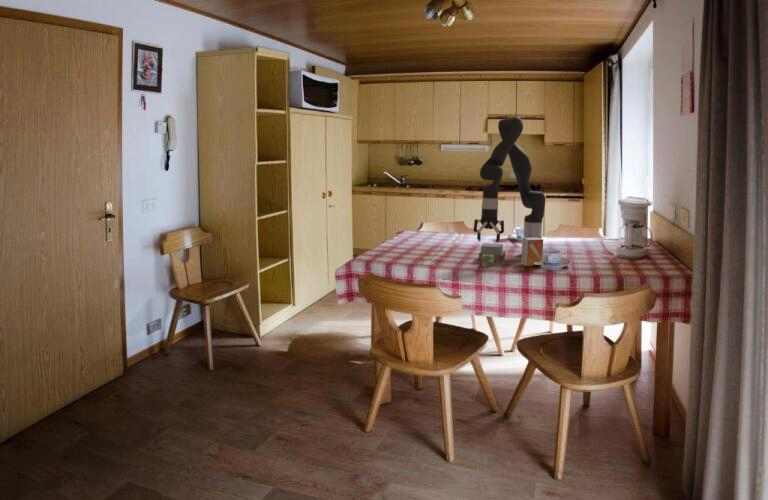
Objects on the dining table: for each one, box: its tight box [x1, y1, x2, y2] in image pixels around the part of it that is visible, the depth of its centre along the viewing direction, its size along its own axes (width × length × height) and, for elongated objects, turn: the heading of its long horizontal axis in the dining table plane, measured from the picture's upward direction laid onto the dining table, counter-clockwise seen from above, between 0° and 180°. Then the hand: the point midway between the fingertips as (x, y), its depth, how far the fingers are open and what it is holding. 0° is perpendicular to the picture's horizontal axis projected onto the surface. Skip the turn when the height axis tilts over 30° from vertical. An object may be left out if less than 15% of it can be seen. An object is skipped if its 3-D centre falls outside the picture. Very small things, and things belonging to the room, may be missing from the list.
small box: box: [520, 237, 544, 267], centre depth 293 cm, size 8×6×13 cm
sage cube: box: [481, 254, 495, 268], centre depth 292 cm, size 5×5×5 cm
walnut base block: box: [478, 251, 506, 264], centre depth 306 cm, size 12×12×4 cm
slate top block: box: [480, 242, 504, 255], centre depth 305 cm, size 10×10×4 cm
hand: (488, 241), depth 290 cm, fingers open, 8 cm apart
